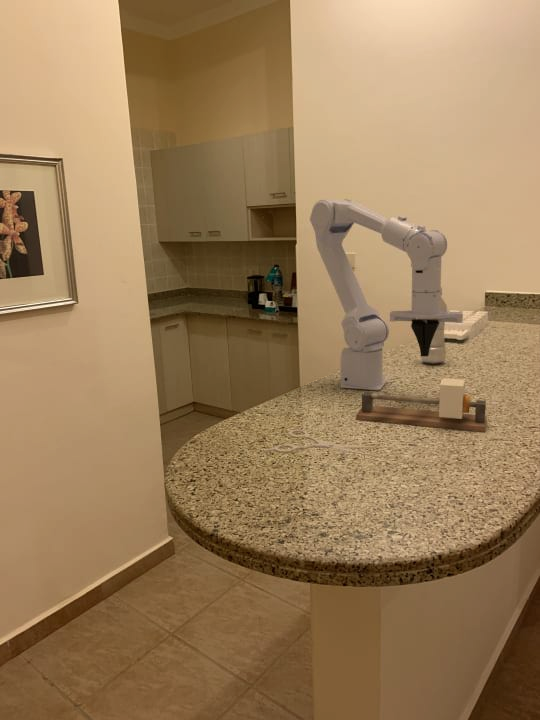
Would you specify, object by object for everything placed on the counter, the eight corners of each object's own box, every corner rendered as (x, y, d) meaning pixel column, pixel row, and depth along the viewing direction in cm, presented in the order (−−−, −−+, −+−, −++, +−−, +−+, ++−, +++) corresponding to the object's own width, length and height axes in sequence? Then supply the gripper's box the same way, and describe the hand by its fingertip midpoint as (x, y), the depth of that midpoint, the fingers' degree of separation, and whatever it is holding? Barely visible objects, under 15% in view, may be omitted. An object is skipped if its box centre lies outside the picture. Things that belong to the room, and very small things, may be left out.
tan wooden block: (439, 416, 100) (439, 384, 98) (441, 409, 104) (442, 378, 102) (461, 418, 98) (463, 386, 97) (463, 411, 102) (465, 379, 101)
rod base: (356, 419, 106) (355, 392, 105) (363, 409, 111) (363, 383, 110) (484, 432, 96) (486, 402, 95) (486, 420, 102) (487, 392, 100)
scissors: (284, 428, 103) (390, 438, 95) (285, 432, 103) (390, 442, 95) (262, 450, 93) (377, 463, 85) (262, 454, 93) (377, 468, 86)
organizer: (488, 311, 190) (465, 330, 162) (487, 325, 191) (465, 345, 163) (450, 310, 197) (422, 327, 168) (449, 323, 198) (421, 342, 170)
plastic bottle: (419, 365, 142) (420, 289, 137) (422, 359, 148) (423, 286, 143) (444, 366, 140) (446, 289, 135) (446, 360, 146) (448, 286, 141)
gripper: (386, 293, 111) (386, 358, 114) (461, 293, 105) (459, 361, 108) (393, 289, 117) (393, 350, 120) (464, 289, 111) (462, 353, 114)
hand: (424, 355), depth 114 cm, fingers closed
